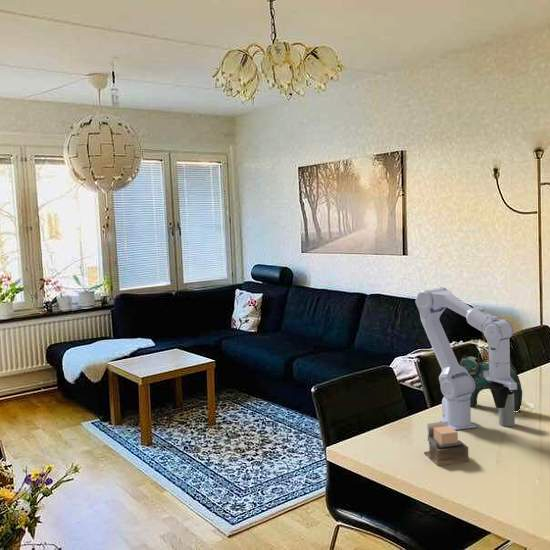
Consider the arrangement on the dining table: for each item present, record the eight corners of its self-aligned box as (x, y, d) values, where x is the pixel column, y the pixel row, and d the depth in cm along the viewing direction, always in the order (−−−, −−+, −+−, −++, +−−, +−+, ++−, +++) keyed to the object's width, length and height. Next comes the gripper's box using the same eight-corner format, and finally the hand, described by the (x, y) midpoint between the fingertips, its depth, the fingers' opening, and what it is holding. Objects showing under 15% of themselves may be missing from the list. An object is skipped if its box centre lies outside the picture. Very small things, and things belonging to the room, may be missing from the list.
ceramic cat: (459, 406, 202) (457, 349, 200) (464, 401, 208) (463, 345, 206) (520, 414, 191) (519, 354, 189) (524, 408, 196) (523, 350, 195)
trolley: (427, 444, 165) (427, 423, 164) (447, 442, 166) (447, 421, 165) (440, 455, 157) (439, 433, 156) (461, 453, 158) (460, 430, 157)
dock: (424, 453, 164) (423, 439, 164) (454, 449, 166) (453, 435, 165) (437, 465, 156) (437, 450, 155) (468, 461, 157) (468, 446, 157)
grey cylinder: (514, 422, 184) (514, 390, 183) (514, 427, 180) (513, 394, 179) (499, 421, 186) (498, 389, 185) (498, 426, 182) (497, 393, 181)
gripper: (473, 357, 176) (474, 401, 177) (500, 369, 162) (501, 416, 163) (495, 355, 177) (496, 399, 179) (523, 366, 163) (524, 414, 164)
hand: (500, 407), depth 171 cm, fingers closed
